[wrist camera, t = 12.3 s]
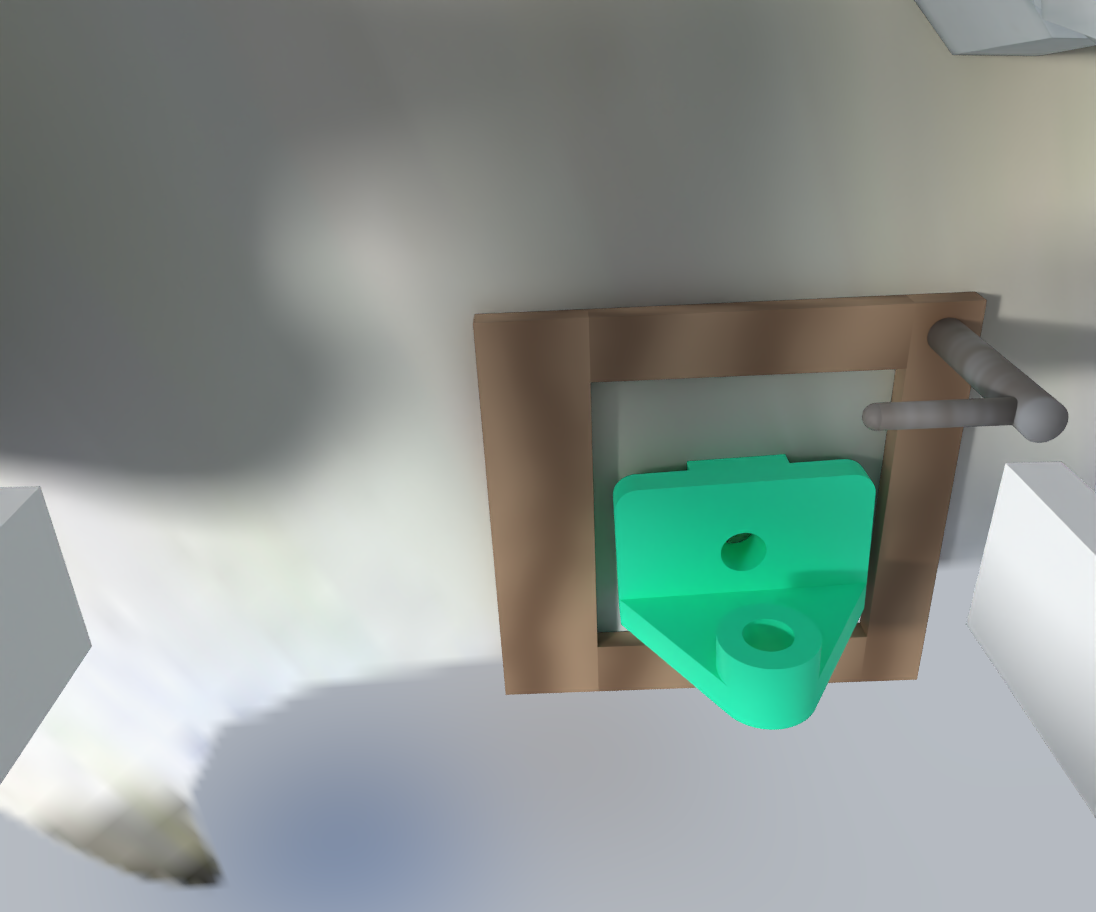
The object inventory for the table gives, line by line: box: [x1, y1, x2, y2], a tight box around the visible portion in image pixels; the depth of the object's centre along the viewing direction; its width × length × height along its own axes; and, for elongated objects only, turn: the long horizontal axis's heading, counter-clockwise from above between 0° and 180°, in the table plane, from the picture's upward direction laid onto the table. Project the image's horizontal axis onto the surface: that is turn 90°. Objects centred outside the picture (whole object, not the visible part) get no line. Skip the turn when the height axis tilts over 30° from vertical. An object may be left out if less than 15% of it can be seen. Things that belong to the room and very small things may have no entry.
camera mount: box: [613, 454, 876, 730], centre depth 41 cm, size 12×8×10 cm, turn 95°
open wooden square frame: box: [473, 292, 1068, 695], centre depth 40 cm, size 22×21×10 cm
